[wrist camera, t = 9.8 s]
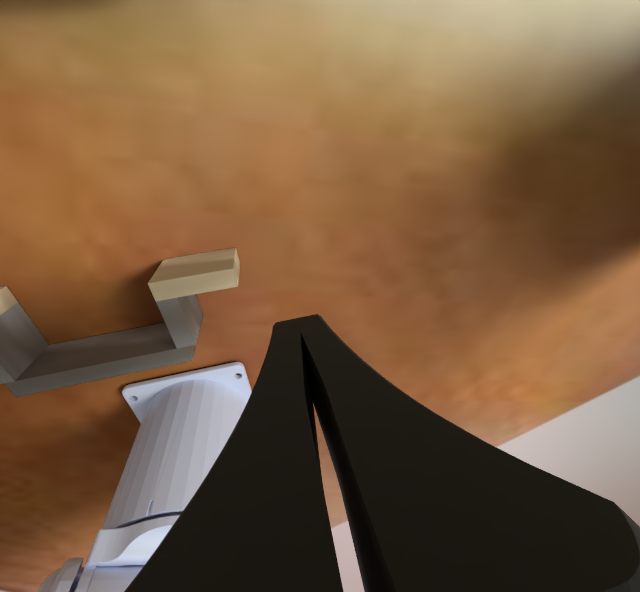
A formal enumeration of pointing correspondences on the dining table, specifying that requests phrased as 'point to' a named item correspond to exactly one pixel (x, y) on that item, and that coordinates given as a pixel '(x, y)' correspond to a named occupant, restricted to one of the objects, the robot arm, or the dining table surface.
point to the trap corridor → (118, 347)
